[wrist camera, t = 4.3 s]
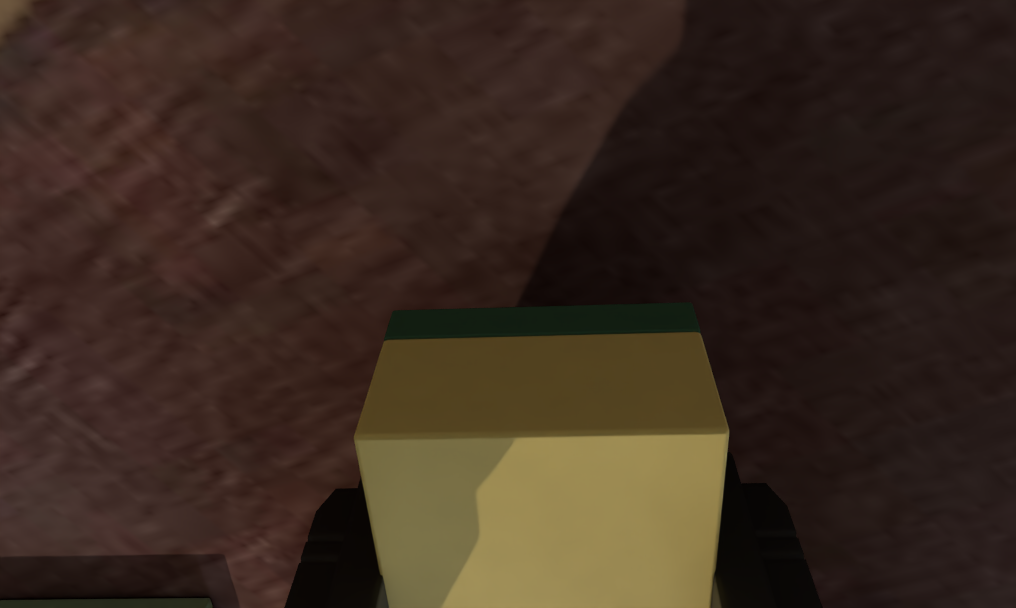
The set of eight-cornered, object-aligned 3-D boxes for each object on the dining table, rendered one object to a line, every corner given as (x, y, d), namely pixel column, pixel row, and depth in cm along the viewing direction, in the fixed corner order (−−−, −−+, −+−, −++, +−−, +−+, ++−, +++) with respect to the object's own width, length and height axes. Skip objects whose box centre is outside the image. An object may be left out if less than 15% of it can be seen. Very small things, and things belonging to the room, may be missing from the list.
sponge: (391, 309, 13) (351, 436, 10) (692, 300, 12) (731, 429, 10) (437, 619, 16) (417, 773, 14) (672, 618, 16) (696, 774, 13)
